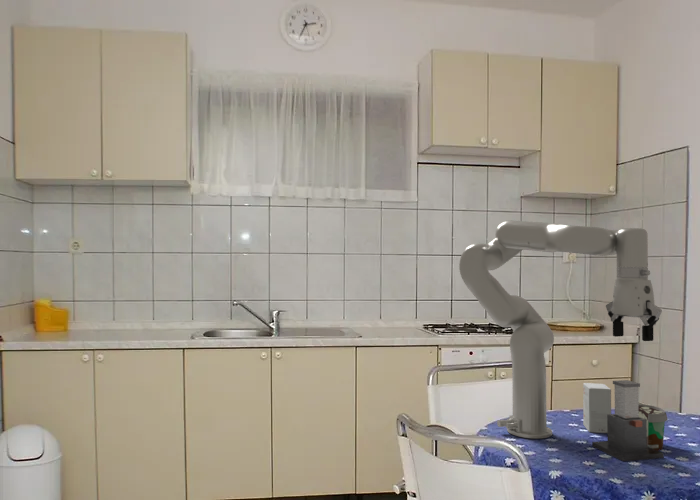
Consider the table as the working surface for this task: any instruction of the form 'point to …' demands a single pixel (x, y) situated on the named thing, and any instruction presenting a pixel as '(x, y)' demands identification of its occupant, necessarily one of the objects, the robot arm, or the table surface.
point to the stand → (627, 440)
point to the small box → (596, 407)
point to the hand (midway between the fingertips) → (632, 338)
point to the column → (626, 399)
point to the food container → (653, 424)
